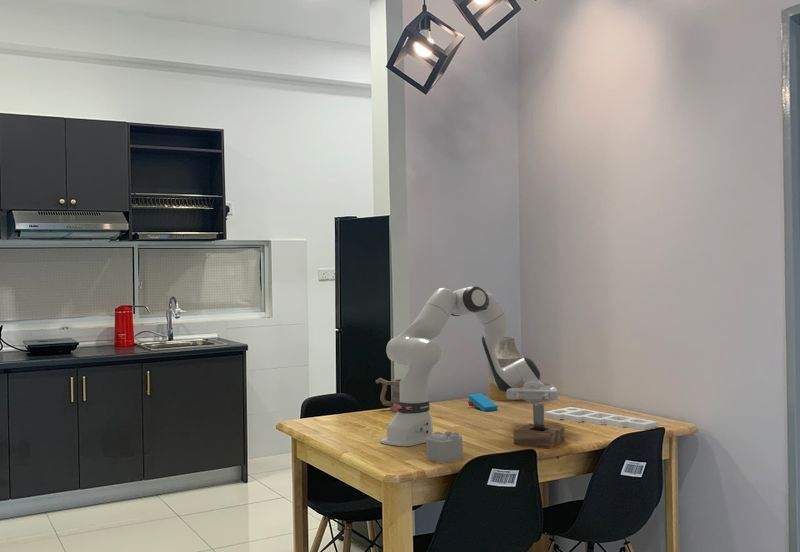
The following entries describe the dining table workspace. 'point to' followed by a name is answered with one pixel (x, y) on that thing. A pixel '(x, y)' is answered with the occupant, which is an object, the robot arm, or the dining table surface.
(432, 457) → the lumpy-topped squat cylinder
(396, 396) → the tankard
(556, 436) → the socket block
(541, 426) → the dark grey rounded rod
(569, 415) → the holder
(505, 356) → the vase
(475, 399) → the blue and red block
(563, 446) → the dining table surface
